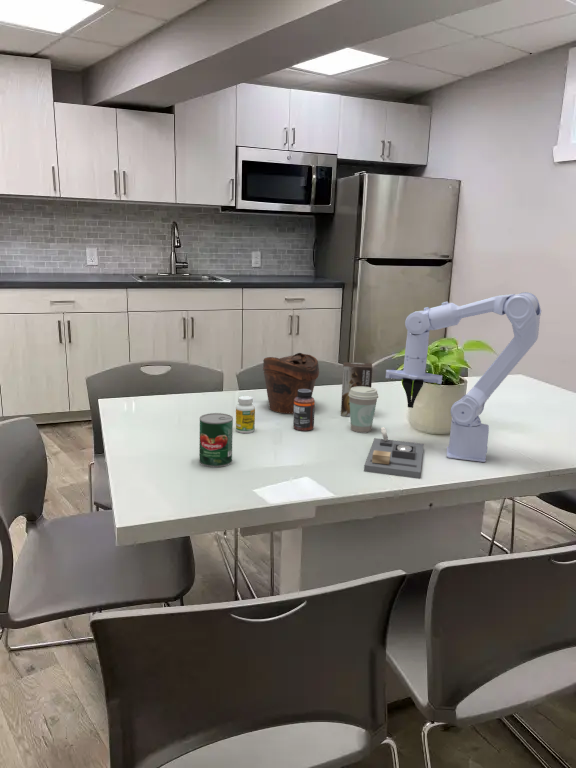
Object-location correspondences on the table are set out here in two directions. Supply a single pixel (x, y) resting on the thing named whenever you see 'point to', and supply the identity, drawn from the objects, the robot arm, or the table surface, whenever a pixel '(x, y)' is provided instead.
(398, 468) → the control panel
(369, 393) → the coffee cup
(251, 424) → the supplement bottle
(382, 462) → the block
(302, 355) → the brown leather bucket
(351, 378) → the coffee box
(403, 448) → the steel push button
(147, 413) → the table surface
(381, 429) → the off-white toggle lever
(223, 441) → the canned tomato
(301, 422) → the supplement bottle
